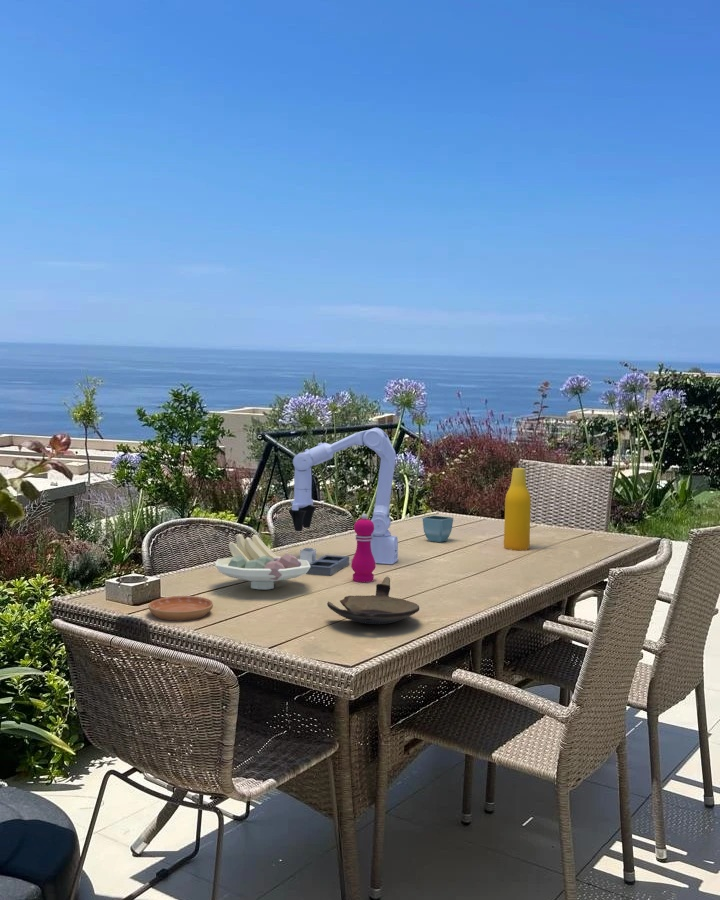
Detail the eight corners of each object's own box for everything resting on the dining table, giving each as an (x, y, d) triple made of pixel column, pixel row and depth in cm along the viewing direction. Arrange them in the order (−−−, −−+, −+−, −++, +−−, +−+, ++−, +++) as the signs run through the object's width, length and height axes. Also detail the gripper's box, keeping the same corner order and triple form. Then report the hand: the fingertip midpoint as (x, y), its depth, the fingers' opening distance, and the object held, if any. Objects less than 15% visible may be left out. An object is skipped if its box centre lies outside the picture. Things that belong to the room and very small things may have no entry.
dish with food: (249, 573, 277) (250, 527, 276) (329, 584, 265) (330, 536, 264) (192, 591, 253) (192, 541, 252) (277, 604, 240) (278, 551, 239)
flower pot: (433, 538, 347) (433, 515, 346) (453, 540, 342) (454, 517, 341) (421, 541, 340) (421, 517, 339) (441, 544, 335) (442, 519, 334)
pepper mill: (363, 576, 276) (364, 511, 275) (380, 580, 271) (381, 514, 269) (346, 579, 271) (347, 513, 270) (363, 583, 266) (364, 516, 264)
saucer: (210, 622, 221) (210, 610, 221) (143, 623, 220) (143, 611, 220) (215, 606, 237) (215, 595, 237) (153, 607, 236) (153, 595, 236)
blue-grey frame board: (349, 564, 294) (349, 556, 294) (330, 575, 276) (330, 567, 276) (325, 562, 296) (325, 555, 296) (305, 573, 278) (305, 565, 278)
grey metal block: (315, 564, 293) (316, 548, 293) (311, 566, 289) (311, 550, 289) (304, 563, 294) (304, 547, 294) (299, 566, 290) (300, 549, 290)
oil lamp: (307, 626, 219) (308, 594, 219) (372, 602, 244) (373, 573, 244) (387, 641, 207) (387, 608, 207) (447, 614, 232) (447, 585, 232)
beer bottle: (534, 549, 327) (537, 469, 325) (516, 551, 322) (518, 470, 320) (516, 545, 335) (519, 466, 333) (498, 547, 330) (500, 467, 327)
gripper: (299, 485, 309) (299, 525, 310) (283, 490, 296) (283, 531, 297) (318, 486, 307) (318, 526, 308) (303, 491, 294) (303, 533, 295)
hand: (302, 529), depth 302 cm, fingers open, 7 cm apart
